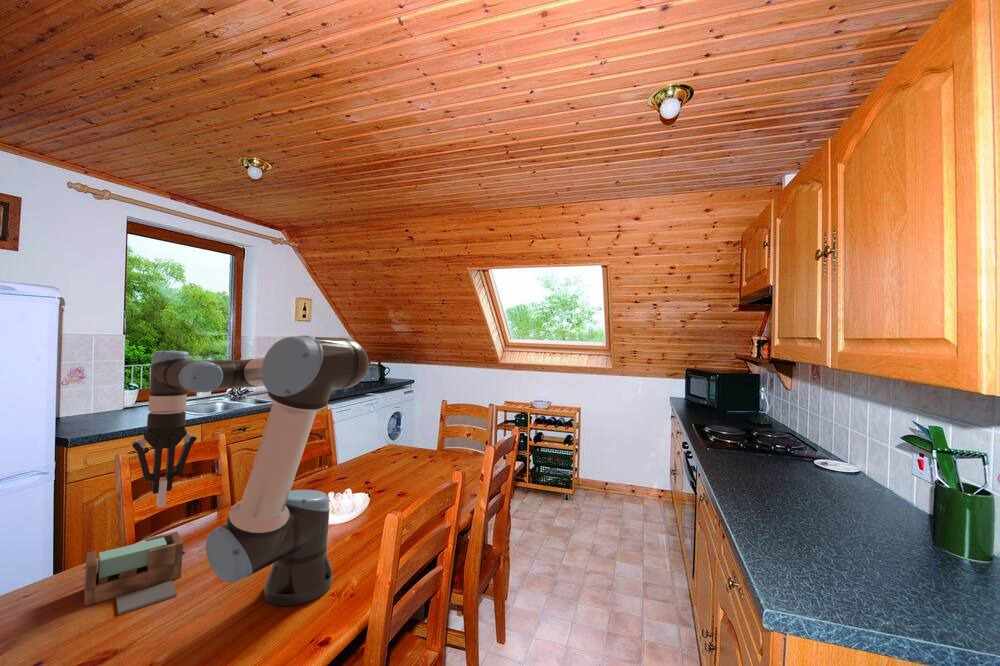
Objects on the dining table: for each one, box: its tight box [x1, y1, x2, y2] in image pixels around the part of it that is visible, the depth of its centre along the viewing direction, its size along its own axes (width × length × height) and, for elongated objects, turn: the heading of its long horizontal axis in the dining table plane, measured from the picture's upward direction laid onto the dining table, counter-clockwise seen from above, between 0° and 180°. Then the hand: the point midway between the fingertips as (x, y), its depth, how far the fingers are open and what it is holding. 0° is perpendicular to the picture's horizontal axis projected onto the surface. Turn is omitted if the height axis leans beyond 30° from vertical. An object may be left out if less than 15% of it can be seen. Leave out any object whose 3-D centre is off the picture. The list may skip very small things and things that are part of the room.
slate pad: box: [115, 580, 178, 616], centre depth 94 cm, size 7×10×1 cm
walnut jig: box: [83, 531, 184, 607], centre depth 99 cm, size 17×8×8 cm, turn 136°
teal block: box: [97, 537, 167, 579], centre depth 99 cm, size 12×5×4 cm, turn 136°
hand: (160, 505), depth 103 cm, fingers closed
